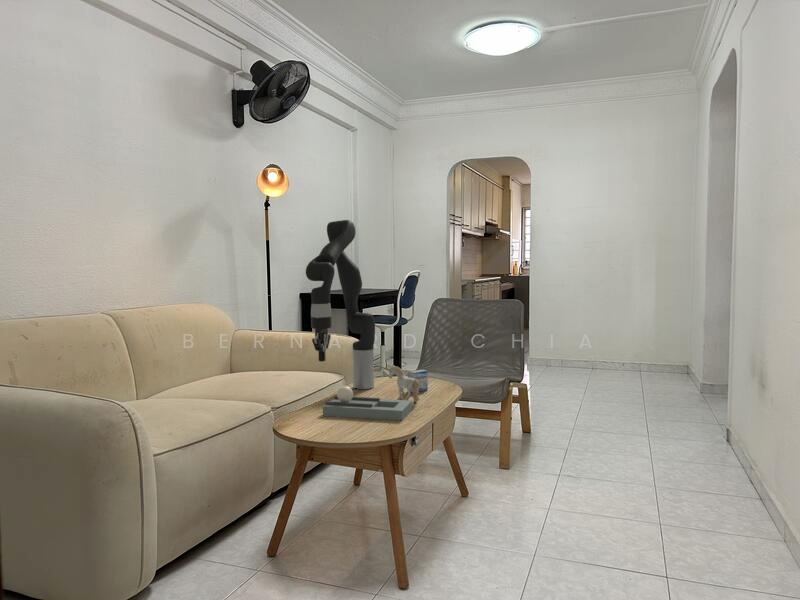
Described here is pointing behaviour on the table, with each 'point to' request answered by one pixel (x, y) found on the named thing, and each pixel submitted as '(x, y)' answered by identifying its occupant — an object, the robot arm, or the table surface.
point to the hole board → (368, 408)
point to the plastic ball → (345, 394)
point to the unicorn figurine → (404, 383)
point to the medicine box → (420, 378)
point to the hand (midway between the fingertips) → (322, 361)
